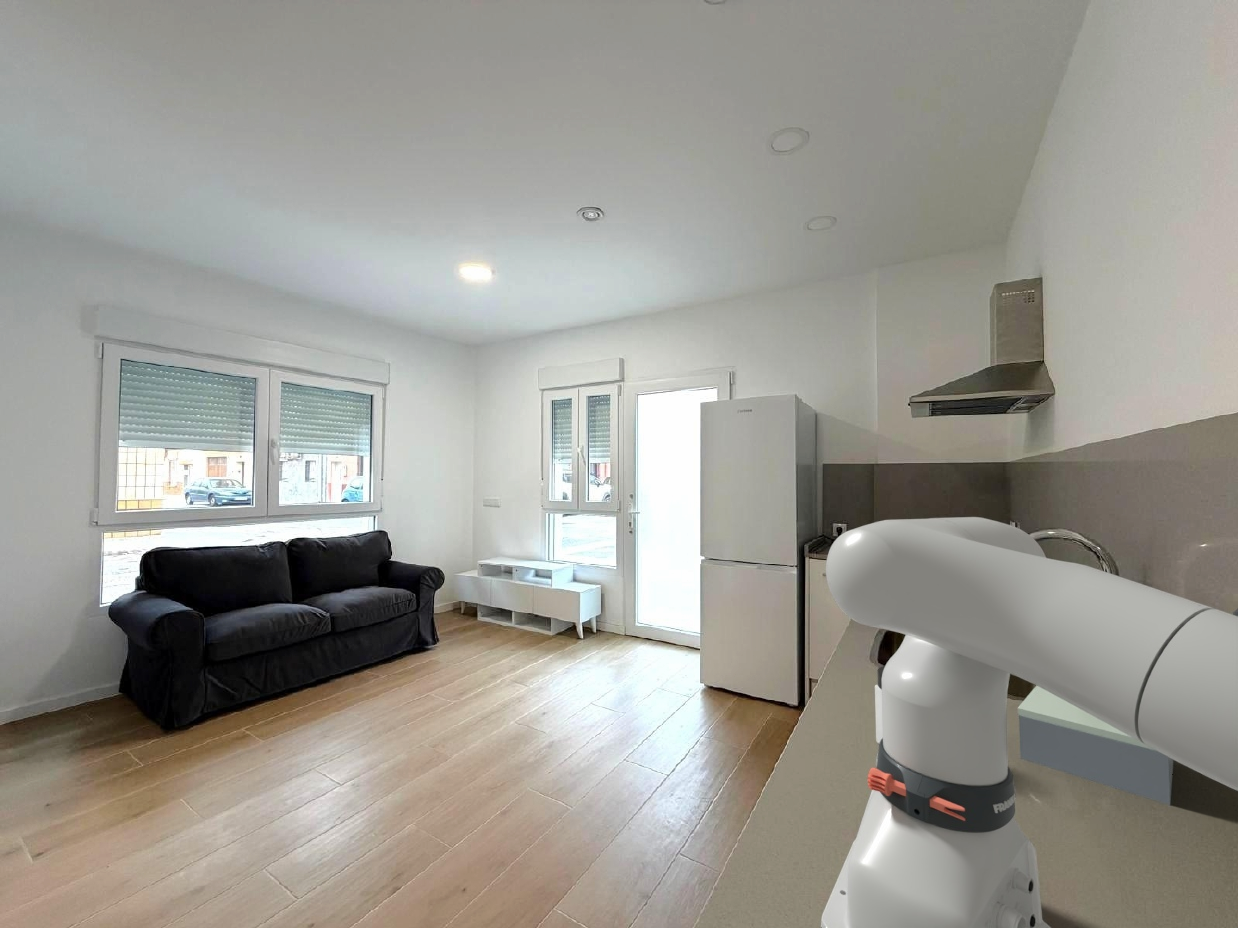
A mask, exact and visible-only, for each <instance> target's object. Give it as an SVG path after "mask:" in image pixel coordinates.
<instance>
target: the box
mask: <svg viewBox="0 0 1238 928" xmlns="http://www.w3.org/2000/svg"><path fill="white" fill-rule="evenodd" d="M1018 727H1019V753H1020V754H1019V756H1020V759H1021V760H1024V761H1027V762H1030V763H1034V764H1037V765H1041V766H1044V767H1047V768H1050V769H1053V770H1056V771H1060V772H1062V773H1066V774H1069V775H1072V776H1076V777H1078V778H1081V779H1086V780H1088V781H1090V782H1094V783H1098V784H1101V785H1104V786H1107V787H1110V788H1114V789H1118V790H1120V791H1124V792H1127V793H1130V794H1133V795H1136V796H1139V797H1143V798H1146V799H1148V800H1151V799H1153V800H1152V801H1155V800H1156V801H1155V802H1158V801H1159V802H1158V803H1162V804H1164V805H1167V804H1168V806H1171V800H1172V799H1171V798H1172V787H1173V775H1172V774H1173V773H1174V760H1173V759H1171V758H1169V757H1168V756H1166V755H1164V754H1162V753H1160V752H1158V751H1155V750H1151V749H1147V748H1144V747H1140V746H1136V745H1132V744H1128V743H1125V742H1121V741H1117V740H1113V739H1109V738H1105V737H1102V736H1098V735H1094V734H1090V733H1086V732H1083V731H1079V730H1075V729H1071V728H1067V727H1063V726H1060V725H1056V724H1052V723H1048V722H1044V721H1041V720H1037V719H1033V718H1029V717H1025V716H1022V715H1018Z"/></svg>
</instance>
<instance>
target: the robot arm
mask: <svg viewBox="0 0 1238 928" xmlns="http://www.w3.org/2000/svg"><path fill="white" fill-rule="evenodd" d="M825 577H826V582H827V587H828V590H829V593H830V594H831V597H832V599H833V600H834V602H835V604H836V605H837V607H838V608H839V609H840V610H841V612H842V613H844V614H845V615H846V616H847V617H848V618H849V619H850V620H853V621H854V622H856V623H858V624H860V625H863V626H867V627H873V628H876V629H877V628H878V629H882V630H887V631H891V632H895V633H900V634H903V635H905V636H904V638H903V641H902V642H901V644H900V646H899V648H898V649H897V650H896V652H895V653H894V654H893V655H892V656H891V657H890V658H888V659H889V660H888V661H886V664H885V665H884V666H885V668H884V670H883V674H882V680H881V681H882V725H883V738H882V739H881V741H880V743H879V744H878V749H877V750H878V752H877V754H876V758H875V767H871V768H870V770H869V771H868V776H867V786H868V788H869V789H870V790H871V792H870V795H869V798H868V801H867V803H866V806H865V810H864V814H863V816H862V819H861V822H860V826H859V828H858V831H857V834H856V838H855V839H854V840H853V842H852V844H851V847H850V849H849V852H848V854H847V856H846V858H845V861H844V863H843V865H842V868H841V870H840V873H839V875H838V877H837V880H836V881H835V884H834V886H833V888H832V892H831V893H830V896H829V898H828V901H827V903H826V905H825V908H824V910H823V912H822V914H821V920H820V928H821V927H822V928H1052V927H1051V926H1050V925H1048V924H1047V922H1045V921H1044V920H1043V912H1042V902H1041V891H1040V890H1041V888H1040V878H1039V870H1038V869H1039V868H1038V859H1037V857H1038V856H1037V850H1036V846H1035V845H1034V844H1033V843H1032V841H1031V840H1030V839H1029V838H1028V837H1027V836H1026V833H1024V832H1023V829H1021V828H1020V826H1019V824H1018V822H1017V821H1016V819H1015V814H1016V800H1017V799H1016V798H1017V795H1016V794H1017V792H1016V791H1017V789H1016V785H1015V783H1014V775H1013V771H1012V769H1010V767H1009V764H1008V763H1009V762H1008V720H1007V719H1008V718H1007V706H1008V705H1007V700H1008V699H1007V698H1008V689H1009V684H1010V683H1009V681H1010V677H1011V675H1012V676H1015V677H1018V678H1019V679H1022V680H1024V681H1026V682H1028V683H1031V684H1033V685H1035V686H1036V685H1037V686H1039V687H1041V688H1043V689H1045V690H1046V691H1048V692H1050V693H1052V694H1054V695H1056V696H1057V697H1059V698H1061V699H1063V700H1065V701H1067V702H1069V703H1070V704H1072V705H1074V706H1076V707H1078V708H1080V709H1081V710H1083V711H1085V712H1087V713H1089V714H1091V715H1092V716H1094V717H1096V718H1098V719H1100V720H1102V721H1103V722H1105V723H1107V724H1109V725H1111V726H1113V727H1114V728H1116V729H1118V730H1120V731H1122V732H1124V733H1125V734H1127V735H1129V736H1131V737H1133V738H1134V739H1136V740H1138V741H1140V742H1142V743H1144V744H1146V745H1147V746H1149V747H1151V748H1153V749H1155V750H1156V751H1158V752H1160V753H1162V754H1164V755H1166V756H1168V757H1169V758H1171V759H1173V761H1175V762H1177V763H1179V764H1181V765H1183V766H1185V767H1187V768H1189V769H1191V770H1193V771H1195V772H1197V773H1200V774H1202V775H1203V776H1205V777H1207V778H1209V779H1211V780H1213V781H1216V782H1218V783H1220V784H1222V785H1224V786H1226V787H1227V788H1230V789H1232V790H1235V791H1237V792H1238V608H1237V609H1236V610H1234V611H1233V612H1232V613H1230V612H1229V613H1228V612H1226V611H1223V610H1221V609H1217V608H1215V607H1212V606H1208V605H1205V604H1202V603H1200V602H1196V601H1194V600H1190V599H1188V598H1185V597H1182V596H1179V595H1176V594H1173V593H1169V592H1167V591H1163V590H1160V589H1157V588H1155V587H1153V586H1152V587H1151V586H1149V585H1145V584H1143V583H1140V582H1137V581H1133V580H1131V579H1128V578H1125V577H1122V576H1119V575H1116V574H1113V573H1110V572H1107V571H1105V570H1101V569H1098V568H1094V567H1092V566H1089V565H1086V564H1080V563H1077V562H1071V561H1070V562H1069V561H1065V560H1064V561H1063V560H1058V559H1053V558H1048V557H1047V556H1046V554H1045V552H1044V551H1043V549H1042V547H1041V545H1040V544H1039V543H1038V542H1037V541H1036V540H1035V539H1034V538H1033V537H1032V536H1031V535H1030V534H1028V533H1027V532H1025V531H1024V530H1022V529H1020V528H1018V527H1016V526H1013V525H1011V524H1008V523H1004V522H1000V521H997V520H992V519H989V518H986V517H985V518H984V517H978V516H965V517H964V516H963V517H962V516H961V517H959V516H958V517H930V518H911V519H910V518H909V519H908V518H906V519H905V518H904V519H901V518H900V519H884V520H880V521H875V522H872V523H868V524H864V525H862V526H859V527H856V528H853V529H849V530H847V531H845V532H843V533H842V534H840V535H839V536H838V537H837V538H836V539H835V540H834V541H833V543H832V544H831V546H830V548H829V551H828V554H827V557H826V563H825Z"/></svg>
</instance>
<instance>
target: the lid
mask: <svg viewBox="0 0 1238 928" xmlns="http://www.w3.org/2000/svg"><path fill="white" fill-rule="evenodd" d="M1017 715H1018V716H1019V715H1022V716H1025V717H1029V718H1033V719H1037V720H1041V721H1044V722H1048V723H1052V724H1056V725H1060V726H1063V727H1067V728H1071V729H1075V730H1079V731H1083V732H1086V733H1090V734H1094V735H1098V736H1102V737H1105V738H1109V739H1113V740H1117V741H1121V742H1125V743H1128V744H1132V745H1136V746H1140V747H1144V748H1147V749H1151V750H1155V749H1153V748H1151V747H1149V746H1147V745H1146V744H1144V743H1142V742H1140V741H1138V740H1136V739H1134V738H1133V737H1131V736H1129V735H1127V734H1125V733H1124V732H1122V731H1120V730H1118V729H1116V728H1114V727H1113V726H1111V725H1109V724H1107V723H1105V722H1103V721H1102V720H1100V719H1098V718H1096V717H1094V716H1092V715H1091V714H1089V713H1087V712H1085V711H1083V710H1081V709H1080V708H1078V707H1076V706H1074V705H1072V704H1070V703H1069V702H1067V701H1065V700H1063V699H1061V698H1059V697H1057V696H1056V695H1054V694H1052V693H1050V692H1048V691H1046V690H1045V689H1043V688H1041V687H1039V686H1037V685H1035V687H1034V688H1033V689H1032V690H1031V691H1030V693H1029V694H1028V695H1027V696H1026V697H1025V699H1024V700H1023V701H1022V702H1021V703H1020V704H1019V706H1018V707H1017ZM1155 751H1156V750H1155Z"/></svg>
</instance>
